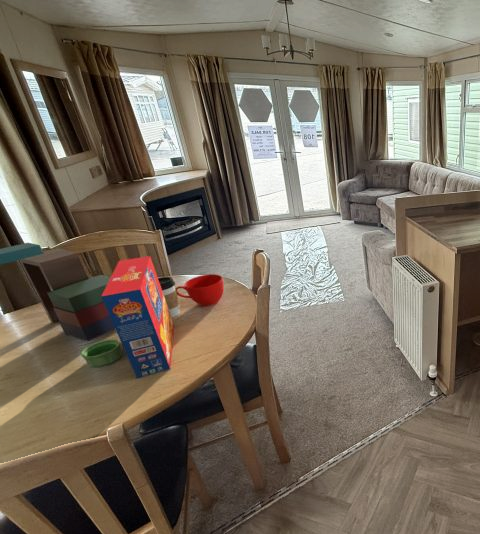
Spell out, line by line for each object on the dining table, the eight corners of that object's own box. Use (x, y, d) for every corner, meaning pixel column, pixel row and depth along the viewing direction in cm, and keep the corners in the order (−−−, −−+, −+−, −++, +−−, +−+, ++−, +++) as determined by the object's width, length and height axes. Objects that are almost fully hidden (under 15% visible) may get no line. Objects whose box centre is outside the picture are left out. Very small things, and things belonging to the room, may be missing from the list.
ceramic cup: (184, 299, 143) (177, 278, 139) (229, 292, 149) (224, 272, 145) (175, 314, 132) (168, 292, 128) (225, 306, 139) (219, 285, 135)
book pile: (65, 334, 119) (44, 293, 112) (116, 312, 133) (101, 274, 126) (87, 341, 116) (67, 299, 109) (138, 317, 130) (123, 279, 123)
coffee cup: (174, 320, 129) (162, 285, 123) (152, 320, 128) (139, 285, 122) (189, 309, 136) (178, 275, 130) (167, 308, 136) (156, 275, 130)
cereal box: (170, 368, 104) (140, 289, 93) (136, 378, 100) (101, 296, 89) (174, 325, 126) (150, 256, 114) (146, 331, 122) (119, 260, 110)
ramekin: (102, 370, 103) (96, 359, 101) (78, 365, 105) (72, 354, 103) (131, 352, 111) (127, 341, 109) (109, 348, 113) (104, 337, 111)
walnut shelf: (51, 322, 125) (17, 257, 115) (83, 309, 134) (55, 248, 123) (72, 328, 122) (39, 262, 112) (104, 314, 131) (77, 252, 120)
